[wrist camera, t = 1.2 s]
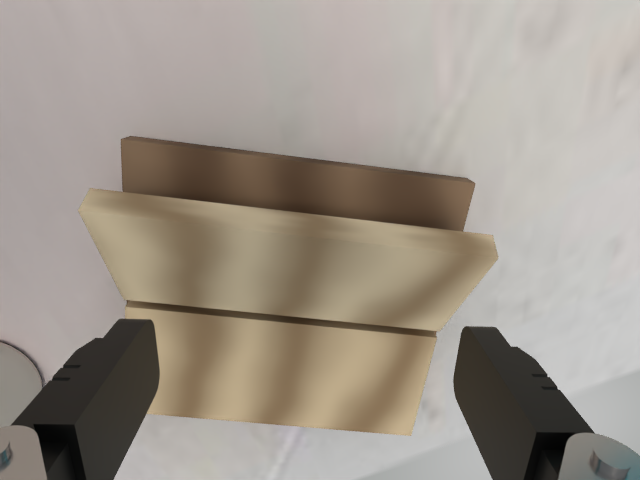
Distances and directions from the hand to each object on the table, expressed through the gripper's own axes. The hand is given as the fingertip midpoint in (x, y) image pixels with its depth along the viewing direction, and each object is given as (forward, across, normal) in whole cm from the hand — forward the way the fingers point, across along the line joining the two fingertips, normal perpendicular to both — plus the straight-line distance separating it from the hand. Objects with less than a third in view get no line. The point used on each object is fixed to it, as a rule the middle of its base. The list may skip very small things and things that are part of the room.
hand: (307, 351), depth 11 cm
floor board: (+18, +1, +8) cm, 20 cm away
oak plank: (+14, +1, +3) cm, 14 cm away
